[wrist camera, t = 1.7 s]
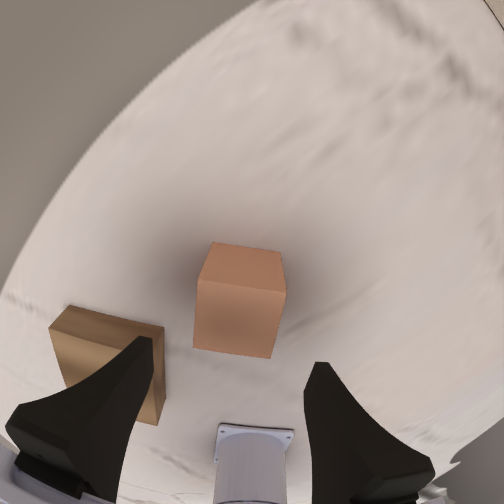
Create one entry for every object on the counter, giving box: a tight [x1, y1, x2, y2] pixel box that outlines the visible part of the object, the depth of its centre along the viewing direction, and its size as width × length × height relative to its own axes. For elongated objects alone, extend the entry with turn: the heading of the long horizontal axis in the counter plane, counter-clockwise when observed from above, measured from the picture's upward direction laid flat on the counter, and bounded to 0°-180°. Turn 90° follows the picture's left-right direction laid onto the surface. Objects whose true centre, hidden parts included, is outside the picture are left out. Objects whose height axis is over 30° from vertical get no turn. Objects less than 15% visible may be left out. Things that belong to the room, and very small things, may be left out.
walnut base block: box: [48, 305, 166, 426], centre depth 22 cm, size 9×9×4 cm
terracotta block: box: [193, 242, 287, 359], centre depth 18 cm, size 4×4×6 cm
